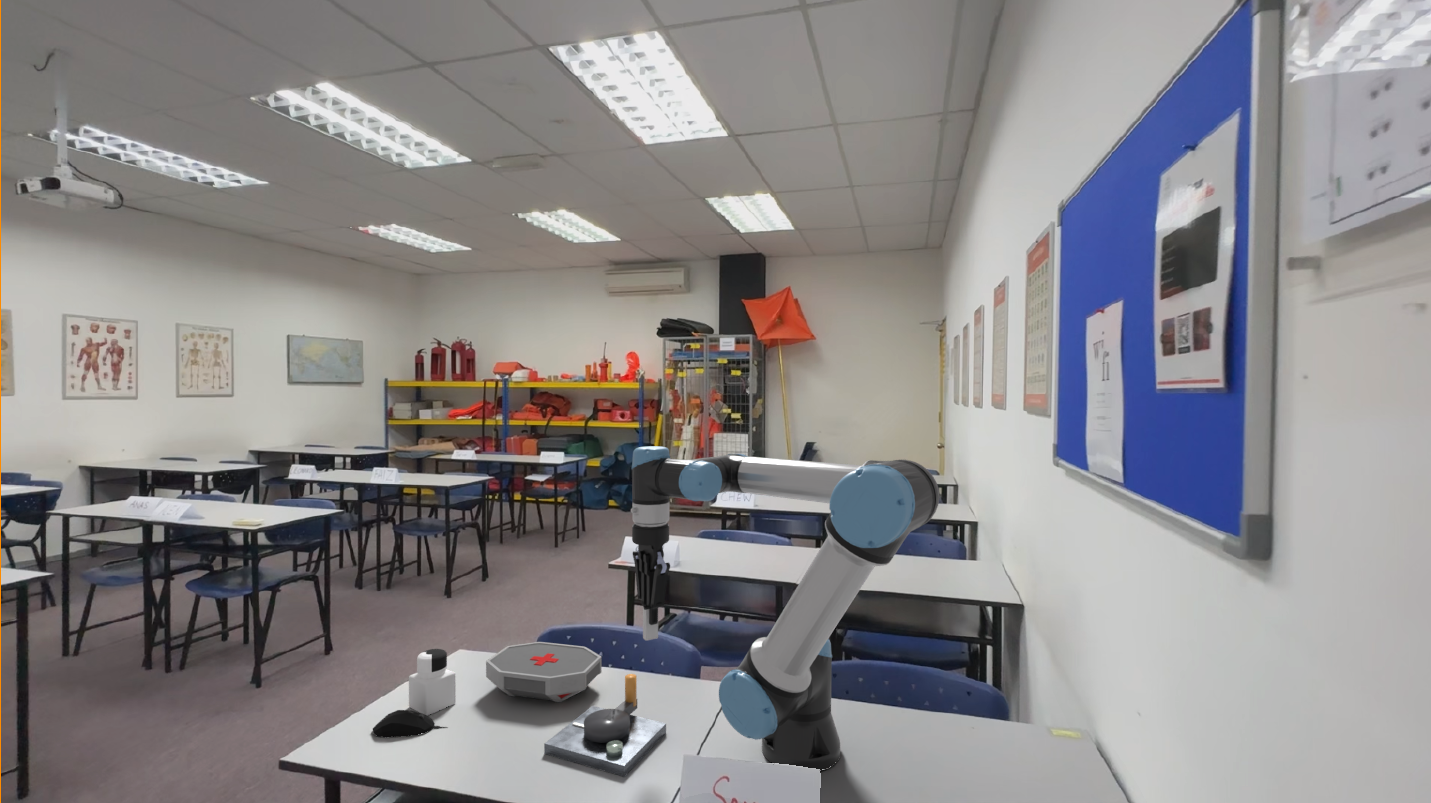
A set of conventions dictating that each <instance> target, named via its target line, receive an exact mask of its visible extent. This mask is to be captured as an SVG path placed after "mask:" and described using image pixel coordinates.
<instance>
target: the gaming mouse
mask: <svg viewBox="0 0 1431 803" xmlns="http://www.w3.org/2000/svg"><path fill="white" fill-rule="evenodd" d="M433 728H434V729H433ZM448 728H449V727H447V726H440V725H435V722H434V719H433V718H432V717H431V716H430V715H428V716H427V715H424V714H422V713H419V712H417V711H416V710H411V709H410V710H409V709H397V710H395V711H393V712H390V713H387V715H385V716H384V717H383V718H382V719H381V720H379V722H378V723H377V724H375V726H374V727H373V728H372V732H373V735H374V736H376V737H380V738H385V737H386V738H387V737H389V738H402V737H401V736H406V737H412V736H411V735H418V734H421V733H425V732H427V731H428V732H430V731H431V730H437V729H448ZM428 732H427V733H428ZM425 734H426V733H425ZM418 736H419V735H418ZM386 738H385V739H386Z"/></svg>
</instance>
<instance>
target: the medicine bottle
mask: <svg viewBox="0 0 1431 803" xmlns="http://www.w3.org/2000/svg"><path fill="white" fill-rule="evenodd" d="M456 683H457V682H456V672H455V671H452V670H450V669H448V652H447V651H446V650H444V649H442V648H431V649H427V650H424V651H422V652H421V653H419V654H418V655H417V658H416V672H415V673H413V674H412V673H411V674H410V675H409V676H408V707H409V708H411V709H412V710H413V711H415V712H419V713H422V714H424V715H427V716H430V714H431V715H433V714H435V713H437V712H439V710H440V711H441V710H444V709H447V708H449V707H452V706H453V705H455V704H456V698H457V697H456V696H457V695H456V691H457V690H456V689H457V688H456V685H457V684H456ZM448 706H449V707H448ZM446 707H447V708H446Z"/></svg>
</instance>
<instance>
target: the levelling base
mask: <svg viewBox="0 0 1431 803" xmlns="http://www.w3.org/2000/svg"><path fill="white" fill-rule="evenodd" d="M603 709H605V708H604V707H599V706H595V705H591V706H590V707H589V708H587V709H586V710H585V711H584V712H583V713H582V714H580V715H579V716H577V717H576V718H575V719H574V720H572V721H571V722H570V723H568V725H566V726H564V728H562V729H561V730H559V731H558V732H557V733H556V734H555V735H553V736H552V737H550V738H549V739H548V740H547V741H545V742H544V743H543V744H544V750H543V754H545V755H548V756H551V757H554V758H558V759H561V760H565V761H568V762H571V763H576V764H578V765H582V766H586V767H589V768H593V769H596V770H599V771H603V772H607V773H610V774H614V775H616V776H619V777H624V778H625V777H626V775H627V774H628V773H630V771H631V770H632V769H633V768H635V766H636V765H637V764H638V763H639V762H640V761H641V760H642V759H643V758H644V757H645V756H646V754H647V753H649V751H651V750H652V749H653V747H654V746H655V745H657V743H658V742H659V741H660V740H661V739H662V738H663V737H664V736H665V735H666V734H667V723H666V722H662V721H658V720H653V719H649V718H645V717H640V716H636V715H632V714H630V715H629V717H630V731H629V733H628V734H627V735H626V736H625V737H623V738H622V739H619V740H614V741H610V742H608V743H599V742H593V741H591V740H589V739H587V738H586V737H585V735H584V720H585V718H586V717H587V716H588V715H590V714H591V713H593V712H595V711H599V710H603Z"/></svg>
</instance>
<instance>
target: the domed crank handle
mask: <svg viewBox="0 0 1431 803" xmlns="http://www.w3.org/2000/svg"><path fill="white" fill-rule="evenodd" d="M624 676H625V677H624V701H622V702H621V703H620V704H619V705H617V706H616V707H615V708H604V709H603V710H599V711H595V712H593V713H591V714H590V715H588V716H587V717H586V718H585V720H584V735H585V737H586V738H587V739H589V740H591V741H593V742H599V743H608V742H610V741H614V740H619V739H622V738H623V737H625V736H626V735H627V734H628V733H629V731H630V717H629V715H632V713H633V712H635V711H636V710H637V709H638V698H637V695H638V694H637V688H638V687H637V684H638V683H637V674H635V673H629V674H626V675H624Z"/></svg>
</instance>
